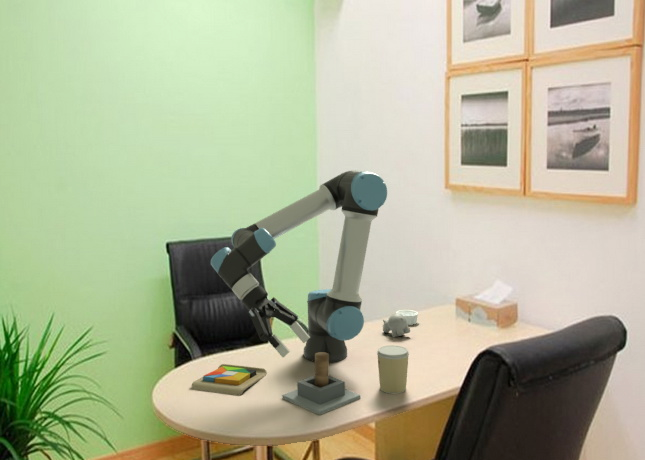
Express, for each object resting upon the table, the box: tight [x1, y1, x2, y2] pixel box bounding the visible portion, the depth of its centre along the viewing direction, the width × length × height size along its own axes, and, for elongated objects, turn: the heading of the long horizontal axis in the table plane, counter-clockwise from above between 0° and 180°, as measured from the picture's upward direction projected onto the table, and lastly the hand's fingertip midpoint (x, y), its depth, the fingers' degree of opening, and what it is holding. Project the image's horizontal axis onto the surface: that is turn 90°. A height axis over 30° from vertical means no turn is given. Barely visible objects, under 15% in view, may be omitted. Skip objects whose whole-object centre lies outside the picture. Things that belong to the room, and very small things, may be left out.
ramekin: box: [395, 309, 419, 326], centre depth 256 cm, size 9×9×4 cm
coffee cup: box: [376, 344, 410, 395], centre depth 188 cm, size 9×9×12 cm
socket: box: [281, 375, 361, 416], centre depth 183 cm, size 16×16×5 cm
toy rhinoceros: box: [382, 312, 411, 338], centre depth 240 cm, size 7×12×8 cm, turn 38°
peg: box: [314, 352, 330, 388], centre depth 182 cm, size 4×4×12 cm
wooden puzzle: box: [191, 363, 268, 396], centre depth 197 cm, size 18×19×4 cm
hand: (297, 347), depth 184 cm, fingers open, 13 cm apart
